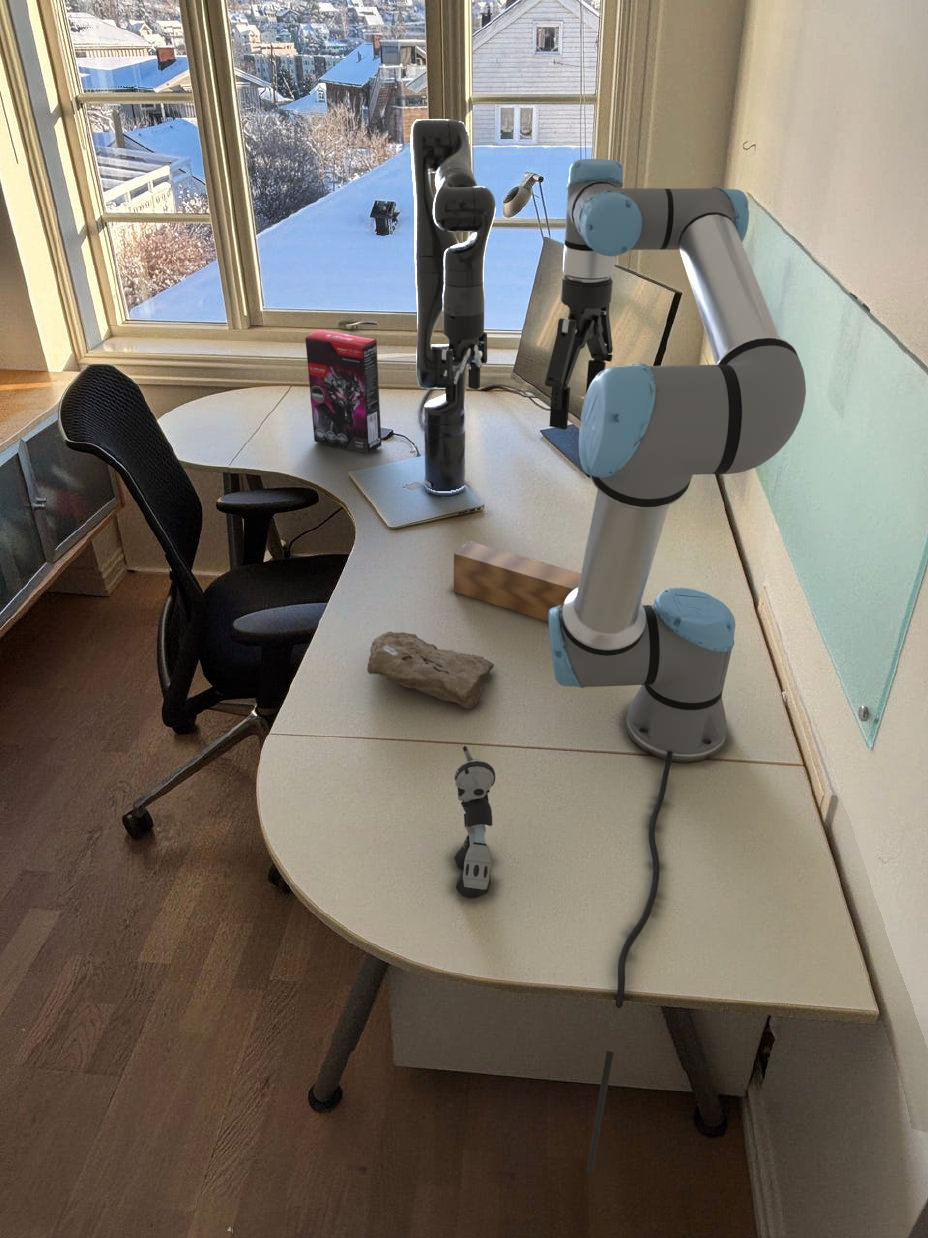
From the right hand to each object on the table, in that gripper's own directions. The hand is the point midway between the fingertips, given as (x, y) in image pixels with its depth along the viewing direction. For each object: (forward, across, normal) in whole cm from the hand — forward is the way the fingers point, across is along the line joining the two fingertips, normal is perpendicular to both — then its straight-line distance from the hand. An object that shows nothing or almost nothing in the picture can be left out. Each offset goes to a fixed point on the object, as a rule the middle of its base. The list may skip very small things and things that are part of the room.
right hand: (576, 413), depth 148 cm
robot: (+39, +61, +16) cm, 74 cm away
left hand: (+7, -15, -30) cm, 34 cm away
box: (+39, 0, -9) cm, 40 cm away
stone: (+39, +30, -11) cm, 50 cm away
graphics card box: (+39, -43, -80) cm, 99 cm away
